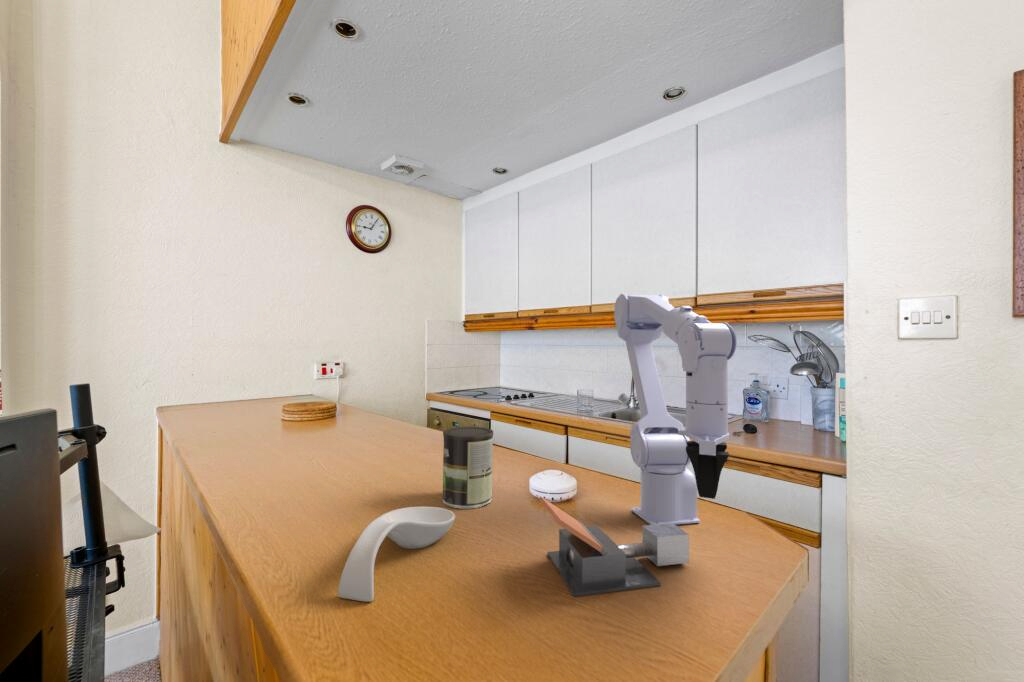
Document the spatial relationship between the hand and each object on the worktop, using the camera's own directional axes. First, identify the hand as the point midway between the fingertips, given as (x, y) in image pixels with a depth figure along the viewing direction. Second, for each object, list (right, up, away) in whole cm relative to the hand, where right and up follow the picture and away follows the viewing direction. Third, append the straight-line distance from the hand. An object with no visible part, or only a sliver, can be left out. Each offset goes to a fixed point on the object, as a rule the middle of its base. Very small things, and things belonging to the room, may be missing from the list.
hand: (706, 493), depth 62 cm
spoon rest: (-46, -10, -1) cm, 47 cm away
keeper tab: (-21, -3, -5) cm, 22 cm away
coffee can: (-38, -10, +23) cm, 46 cm away
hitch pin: (-13, -9, -3) cm, 16 cm away
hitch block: (-17, -9, -4) cm, 20 cm away
